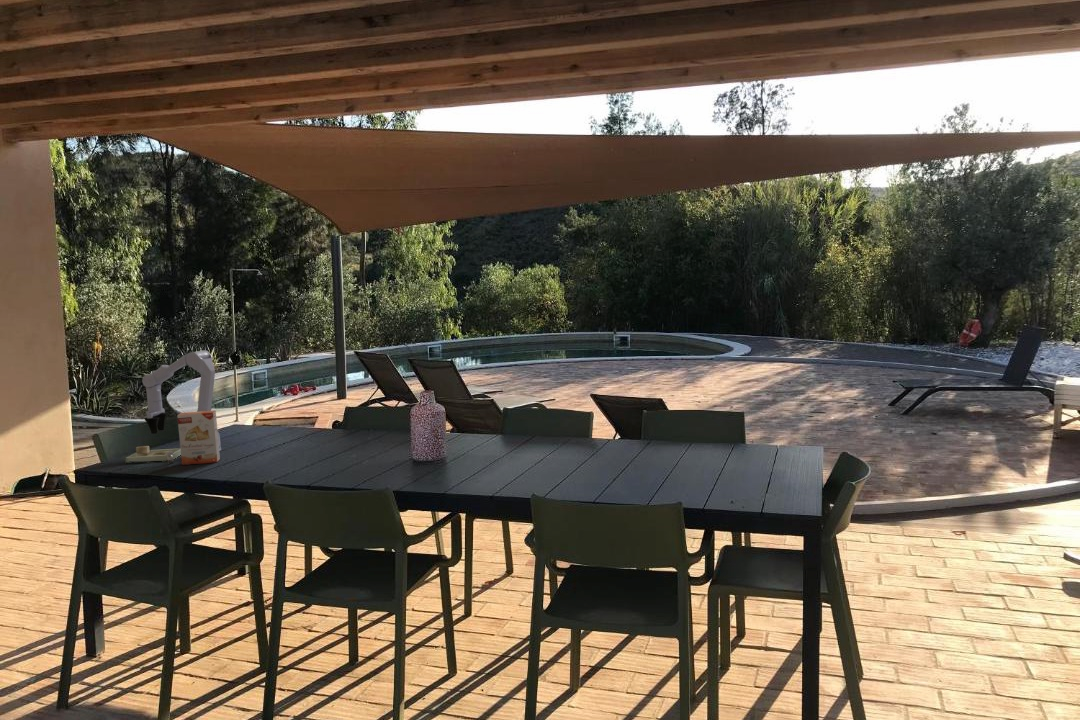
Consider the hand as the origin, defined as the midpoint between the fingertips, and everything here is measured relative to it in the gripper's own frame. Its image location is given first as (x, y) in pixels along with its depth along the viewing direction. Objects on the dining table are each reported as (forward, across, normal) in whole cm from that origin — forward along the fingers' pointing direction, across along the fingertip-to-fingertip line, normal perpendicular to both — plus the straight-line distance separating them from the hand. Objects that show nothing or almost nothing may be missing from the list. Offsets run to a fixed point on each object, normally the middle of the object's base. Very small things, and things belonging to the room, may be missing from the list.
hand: (157, 431), depth 384 cm
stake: (+9, +25, +14) cm, 30 cm away
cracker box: (+10, +27, +27) cm, 39 cm away
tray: (+9, +12, +3) cm, 16 cm away
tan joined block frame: (+9, +12, +3) cm, 16 cm away
